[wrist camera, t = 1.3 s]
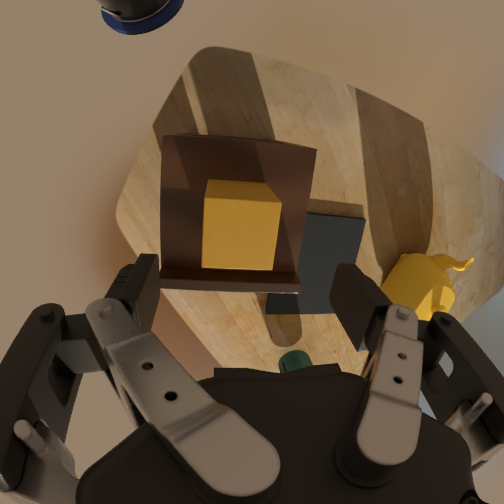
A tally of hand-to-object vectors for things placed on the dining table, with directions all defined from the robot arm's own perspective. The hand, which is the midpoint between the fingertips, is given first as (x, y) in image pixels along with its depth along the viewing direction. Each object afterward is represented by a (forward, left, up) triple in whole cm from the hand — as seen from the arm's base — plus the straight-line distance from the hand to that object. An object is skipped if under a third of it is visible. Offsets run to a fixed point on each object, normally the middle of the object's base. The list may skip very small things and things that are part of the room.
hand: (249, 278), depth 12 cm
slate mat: (+14, +15, -28) cm, 35 cm away
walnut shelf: (+1, 0, -28) cm, 28 cm away
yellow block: (0, 0, -11) cm, 11 cm away
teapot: (+15, +35, -28) cm, 47 cm away
